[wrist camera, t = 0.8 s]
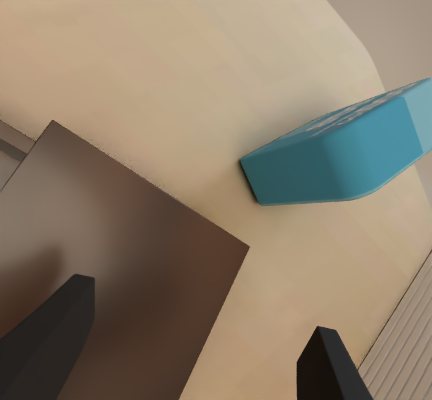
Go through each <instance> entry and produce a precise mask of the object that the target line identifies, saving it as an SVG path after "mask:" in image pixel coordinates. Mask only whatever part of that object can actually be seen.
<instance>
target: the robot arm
mask: <svg viewBox="0 0 432 400" xmlns="http://www.w3.org/2000/svg"><path fill="white" fill-rule="evenodd" d="M94 320H95V278H94V277H89V276H85V275H80V274H74V275H72V276H71V277H70V278H69V279H68V280H67V281H66V282H65V283H64V284H63V285H62V286H61V287H60V288H59V289H58V290H57V291H56V292H55V293H53V294H52V295H51V296H50V297H49V298H48V299H47V300H46V301H45V302H44V303H42V304H41V305H40V306H39V307H38V308H37V309H36V310H34V311H33V312H32V313H31V314H30V315H29V316H27V317H26V318H25V319H24V320H23V321H22V322H20V323H19V324H18V325H17V326H16V327H14V328H13V329H12V330H11V331H10V332H8V333H7V334H6V335H4V336H3V337H2V338H1V339H0V400H56V399H57V397H58V395H59V394H60V392H61V390H62V388H63V386H64V384H65V382H66V380H67V379H68V377H69V375H70V373H71V371H72V369H73V367H74V365H75V363H76V361H77V360H78V358H79V356H80V354H81V352H82V350H83V347H84V345H85V343H86V340H87V338H88V335H89V333H90V330H91V328H92V325H93V322H94ZM297 400H374V399H373V397H372V396H371V394H370V392H369V390H368V389H367V387H366V385H365V383H364V381H363V380H362V378H361V376H360V374H359V372H358V370H357V369H356V367H355V365H354V363H353V361H352V359H351V357H350V355H349V353H348V352H347V350H346V348H345V346H344V344H343V342H342V340H341V338H340V336H339V334H338V333H337V331H336V330H334V329H329V328H324V327H320V326H317V327H316V329H315V331H314V333H313V334H312V336H311V338H310V340H309V341H308V343H307V345H306V347H305V349H304V350H303V352H302V354H301V356H300V357H299V359H298V361H297Z"/></svg>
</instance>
